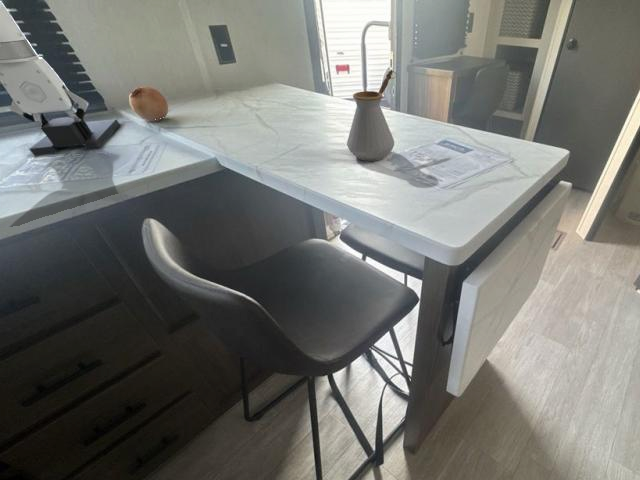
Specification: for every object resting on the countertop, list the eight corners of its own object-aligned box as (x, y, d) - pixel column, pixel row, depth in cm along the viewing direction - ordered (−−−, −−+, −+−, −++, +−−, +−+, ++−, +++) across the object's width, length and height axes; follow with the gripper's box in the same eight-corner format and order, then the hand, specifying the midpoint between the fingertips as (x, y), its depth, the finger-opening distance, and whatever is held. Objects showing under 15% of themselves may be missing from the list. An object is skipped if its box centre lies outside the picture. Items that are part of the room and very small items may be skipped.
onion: (159, 134, 97) (134, 105, 87) (138, 120, 98) (111, 90, 89) (182, 115, 99) (160, 85, 90) (161, 102, 101) (137, 71, 91)
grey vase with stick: (384, 167, 72) (381, 91, 62) (340, 160, 75) (329, 86, 64) (413, 136, 86) (414, 70, 75) (374, 132, 89) (371, 67, 78)
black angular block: (55, 147, 79) (40, 128, 75) (67, 137, 84) (54, 118, 81) (83, 144, 80) (69, 125, 77) (93, 134, 85) (81, 115, 82)
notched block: (34, 155, 78) (28, 148, 77) (64, 129, 91) (61, 124, 90) (98, 148, 81) (94, 142, 80) (119, 124, 94) (116, 119, 93)
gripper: (-48, 57, 64) (27, 148, 77) (51, 52, 68) (107, 139, 81) (-27, 51, 69) (40, 138, 82) (64, 47, 73) (115, 130, 86)
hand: (73, 138), depth 82 cm, fingers closed on black angular block, 5 cm apart
